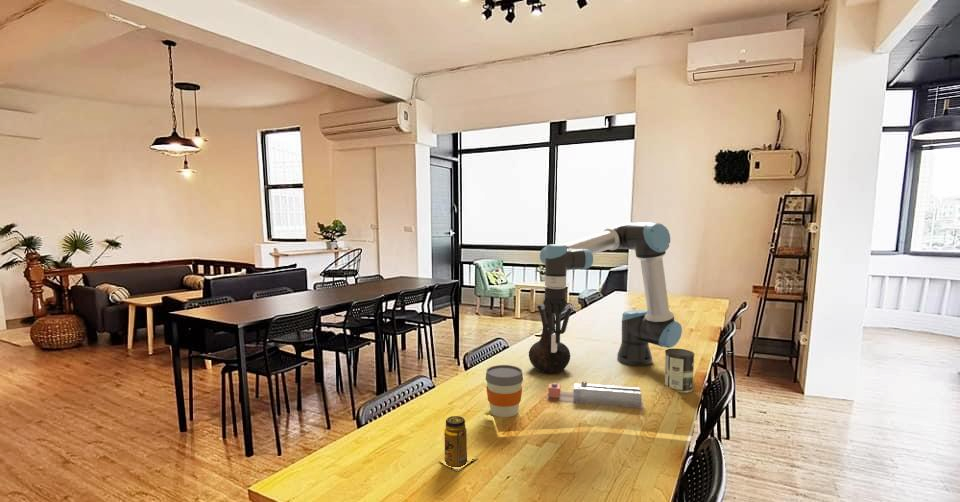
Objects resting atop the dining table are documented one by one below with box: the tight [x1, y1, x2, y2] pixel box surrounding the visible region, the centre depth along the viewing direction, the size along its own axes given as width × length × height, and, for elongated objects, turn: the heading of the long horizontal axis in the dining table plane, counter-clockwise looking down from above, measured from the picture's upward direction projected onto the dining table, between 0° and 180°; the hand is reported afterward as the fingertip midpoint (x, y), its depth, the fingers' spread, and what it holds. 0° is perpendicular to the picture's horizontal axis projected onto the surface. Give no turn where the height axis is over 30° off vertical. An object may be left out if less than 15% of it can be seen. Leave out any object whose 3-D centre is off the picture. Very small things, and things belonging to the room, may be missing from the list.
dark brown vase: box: [528, 307, 571, 374], centre depth 193 cm, size 18×18×28 cm
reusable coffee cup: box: [485, 364, 524, 418], centre depth 151 cm, size 13×13×15 cm
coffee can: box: [664, 347, 695, 394], centre depth 173 cm, size 10×10×14 cm
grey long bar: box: [573, 382, 643, 409], centre depth 158 cm, size 5×23×5 cm, turn 76°
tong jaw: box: [581, 381, 642, 393], centre depth 159 cm, size 2×20×6 cm, turn 78°
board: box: [546, 390, 645, 410], centre depth 160 cm, size 9×33×1 cm, turn 76°
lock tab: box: [547, 382, 561, 398], centre depth 163 cm, size 4×4×4 cm
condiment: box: [443, 415, 479, 472], centre depth 123 cm, size 7×8×12 cm
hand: (554, 351), depth 163 cm, fingers closed
